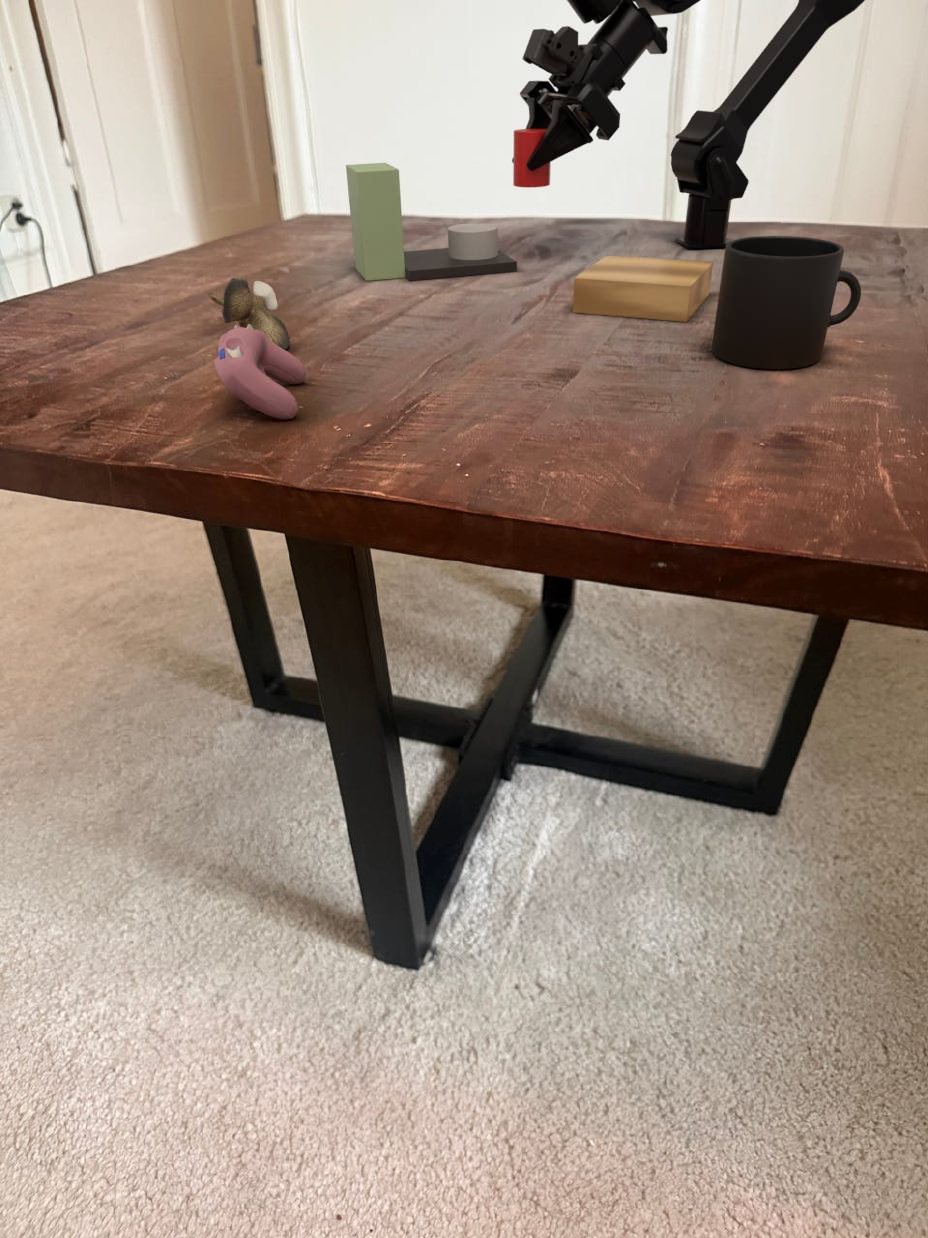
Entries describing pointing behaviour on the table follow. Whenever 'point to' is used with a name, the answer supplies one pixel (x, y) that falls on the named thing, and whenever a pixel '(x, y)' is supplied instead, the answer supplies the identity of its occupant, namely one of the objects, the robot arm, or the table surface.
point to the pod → (522, 151)
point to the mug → (779, 300)
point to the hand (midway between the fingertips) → (521, 166)
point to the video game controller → (258, 371)
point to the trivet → (643, 288)
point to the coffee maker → (383, 235)
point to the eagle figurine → (252, 309)
